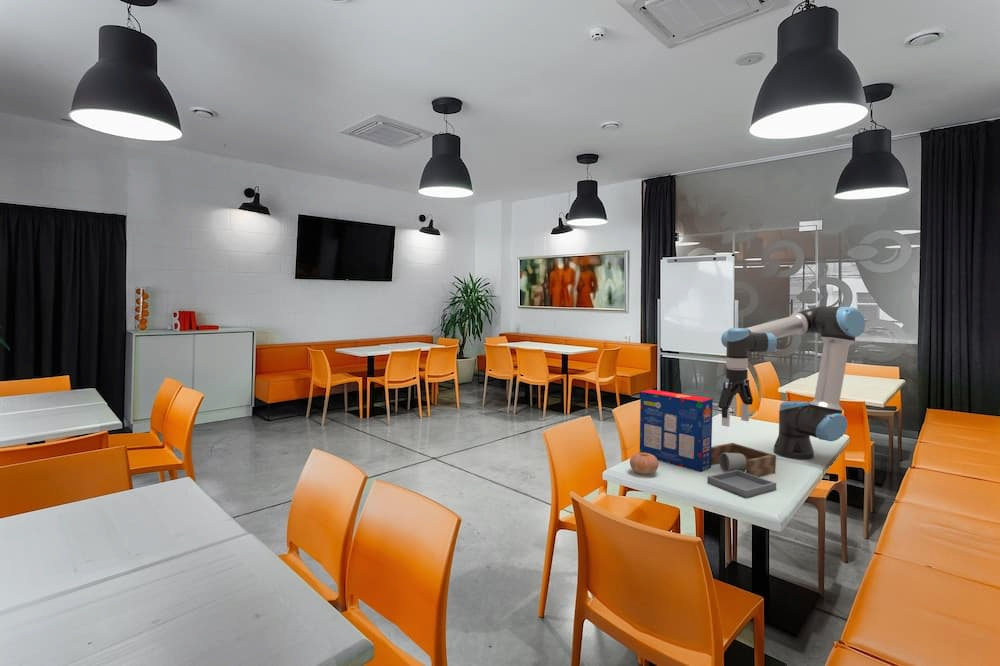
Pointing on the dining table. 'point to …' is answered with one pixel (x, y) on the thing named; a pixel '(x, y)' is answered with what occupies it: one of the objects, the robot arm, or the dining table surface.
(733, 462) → the ceramic mug
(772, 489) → the tray
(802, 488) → the dining table surface
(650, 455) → the orange ribbed round gourd
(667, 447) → the pasta box
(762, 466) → the bay
